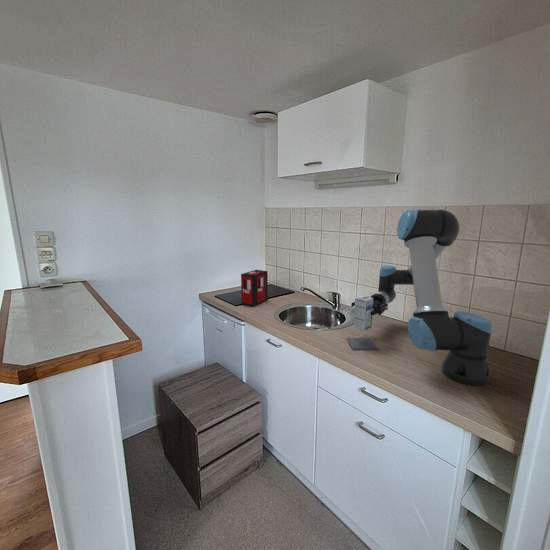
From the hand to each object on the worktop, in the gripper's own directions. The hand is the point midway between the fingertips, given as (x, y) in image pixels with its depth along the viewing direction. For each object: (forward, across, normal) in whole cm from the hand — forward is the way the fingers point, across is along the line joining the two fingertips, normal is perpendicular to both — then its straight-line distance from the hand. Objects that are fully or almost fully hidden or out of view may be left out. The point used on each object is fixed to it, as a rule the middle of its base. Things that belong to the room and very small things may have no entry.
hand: (358, 313), depth 132 cm
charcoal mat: (-5, 0, -16) cm, 17 cm away
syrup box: (-5, 0, -9) cm, 10 cm away
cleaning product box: (-20, +79, -17) cm, 84 cm away
